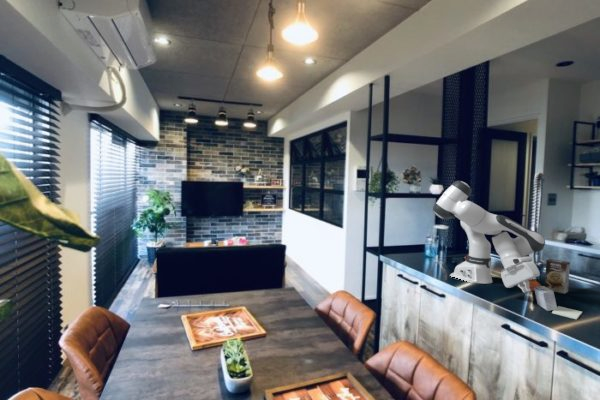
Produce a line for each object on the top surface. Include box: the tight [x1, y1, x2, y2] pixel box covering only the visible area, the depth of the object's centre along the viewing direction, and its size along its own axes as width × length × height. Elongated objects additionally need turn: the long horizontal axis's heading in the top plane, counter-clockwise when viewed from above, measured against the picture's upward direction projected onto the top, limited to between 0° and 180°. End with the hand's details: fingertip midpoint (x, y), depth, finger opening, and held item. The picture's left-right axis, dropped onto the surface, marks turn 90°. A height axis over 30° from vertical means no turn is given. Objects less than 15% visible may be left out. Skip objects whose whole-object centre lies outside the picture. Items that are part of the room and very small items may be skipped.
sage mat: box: [551, 305, 583, 320], centre depth 146 cm, size 8×11×1 cm
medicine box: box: [534, 285, 558, 312], centre depth 152 cm, size 8×4×9 cm, turn 171°
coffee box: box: [544, 258, 571, 294], centre depth 177 cm, size 9×6×16 cm
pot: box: [523, 279, 542, 292], centre depth 176 cm, size 8×8×7 cm
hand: (527, 291), depth 154 cm, fingers closed
